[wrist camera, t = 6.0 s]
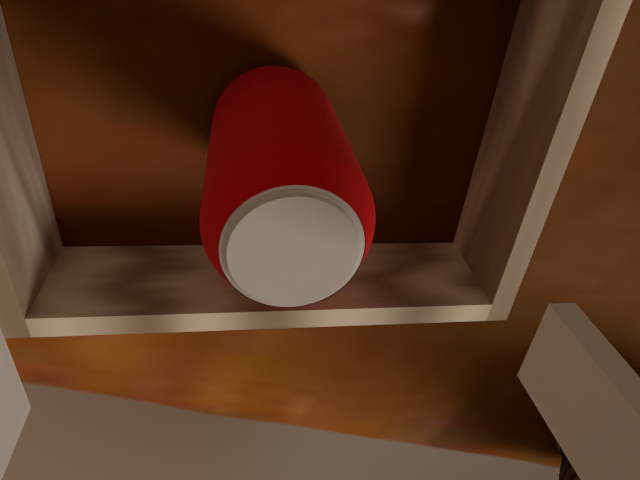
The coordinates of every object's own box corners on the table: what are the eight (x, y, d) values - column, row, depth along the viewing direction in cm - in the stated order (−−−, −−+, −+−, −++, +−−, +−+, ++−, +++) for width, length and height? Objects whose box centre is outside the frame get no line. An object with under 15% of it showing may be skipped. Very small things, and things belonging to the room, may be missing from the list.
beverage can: (208, 167, 26) (189, 321, 17) (218, 48, 23) (202, 154, 13) (318, 180, 28) (361, 330, 18) (342, 70, 24) (411, 180, 15)
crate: (562, -60, 22) (652, -51, 18) (466, 257, 32) (506, 320, 27) (-66, -119, 18) (-178, -129, 13) (45, 263, 28) (3, 338, 23)
